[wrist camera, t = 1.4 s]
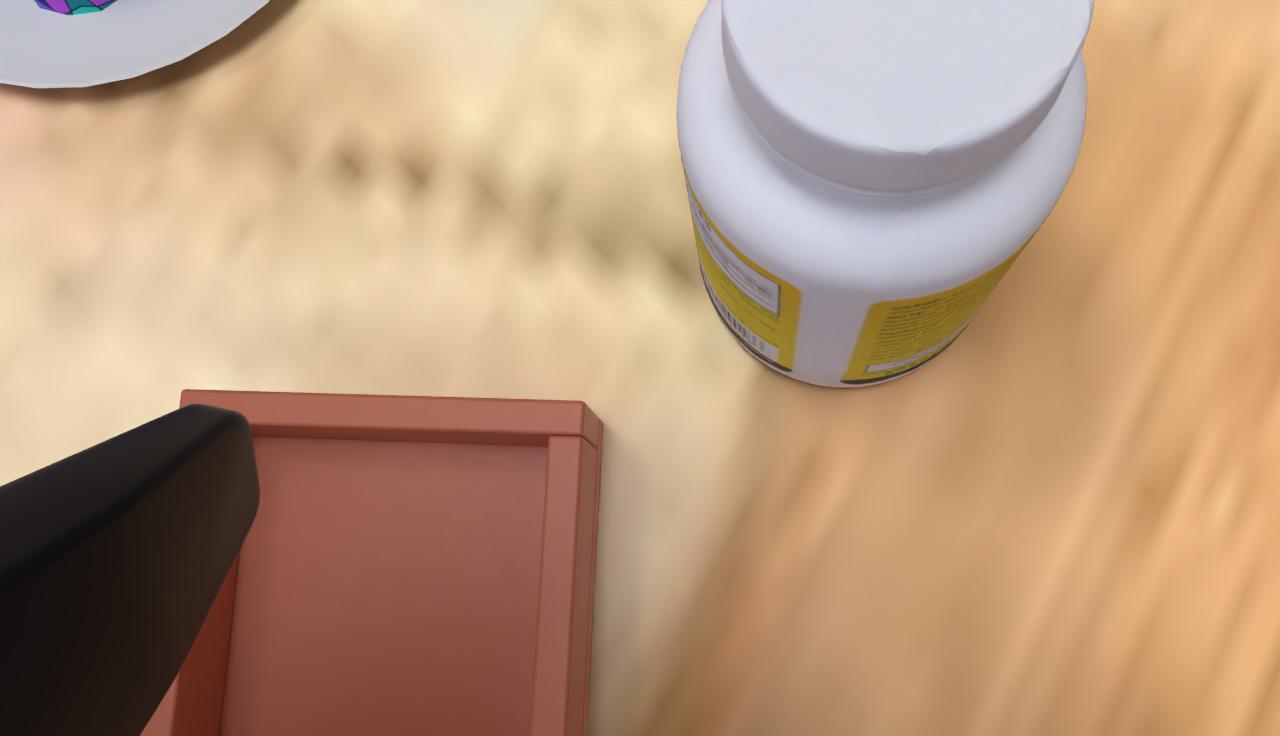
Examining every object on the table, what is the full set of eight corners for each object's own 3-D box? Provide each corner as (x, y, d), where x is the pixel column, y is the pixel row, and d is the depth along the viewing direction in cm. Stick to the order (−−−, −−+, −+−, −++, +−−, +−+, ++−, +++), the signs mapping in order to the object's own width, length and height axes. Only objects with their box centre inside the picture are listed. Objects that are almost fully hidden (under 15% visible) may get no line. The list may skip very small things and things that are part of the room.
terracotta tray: (576, 942, 20) (552, 991, 17) (183, 911, 20) (109, 952, 18) (603, 421, 21) (584, 399, 19) (240, 410, 22) (179, 388, 20)
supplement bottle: (1013, 153, 22) (1218, -193, 12) (949, 423, 21) (1115, 281, 11) (740, 92, 22) (728, -279, 13) (666, 351, 22) (595, 159, 12)
